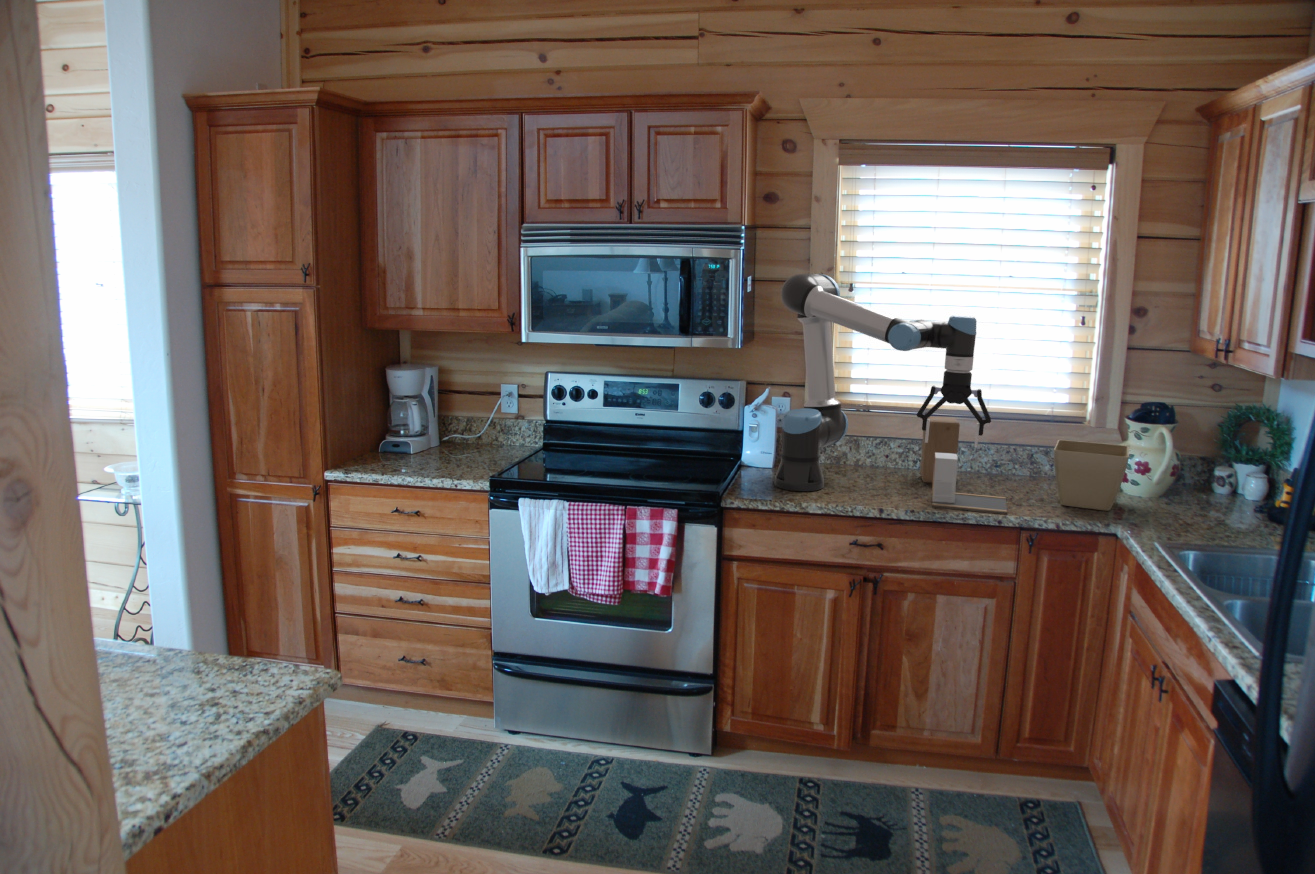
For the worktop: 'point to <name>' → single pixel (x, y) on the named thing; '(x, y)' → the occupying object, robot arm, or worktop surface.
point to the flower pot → (1089, 473)
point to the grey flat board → (975, 503)
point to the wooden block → (938, 443)
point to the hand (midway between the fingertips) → (950, 444)
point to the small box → (944, 477)
